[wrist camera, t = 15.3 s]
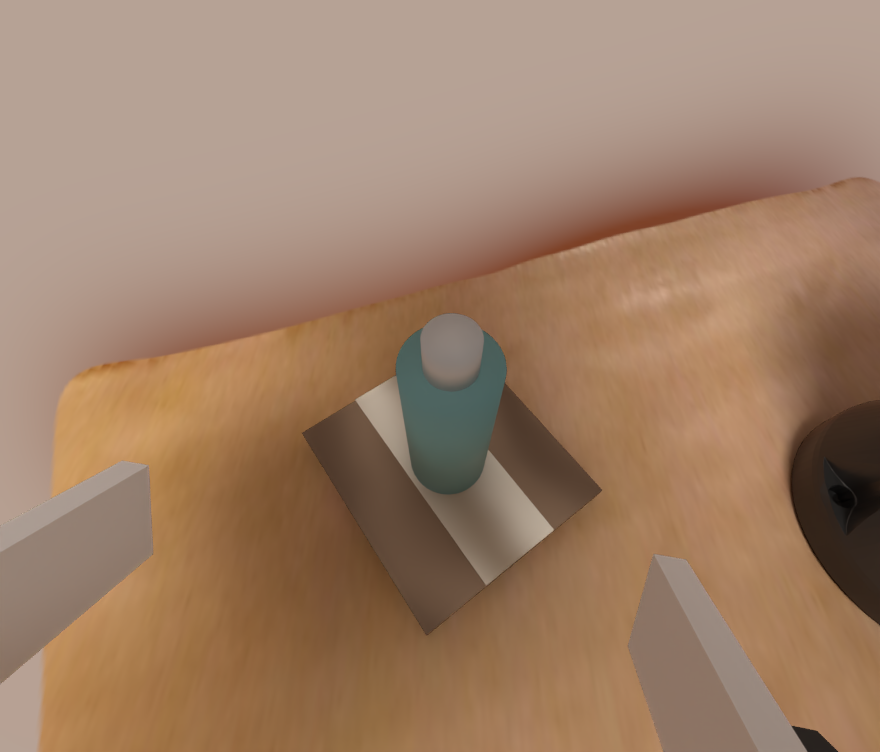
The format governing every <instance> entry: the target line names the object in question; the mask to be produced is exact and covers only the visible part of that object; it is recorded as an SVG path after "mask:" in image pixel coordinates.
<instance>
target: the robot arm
mask: <svg viewBox="0 0 880 752" xmlns="http://www.w3.org/2000/svg"><path fill="white" fill-rule="evenodd" d="M792 490H793V497H794V503H795V507H796V511H797V514H798V518H799V520H800V523H801V526H802V528H803V531H804V533H805V535H806V537H807V539H808V541H809V543H810V545H811V547H812V549H813V550H814V552H815V554H816V555H817V557H818V559H819V560H820V562H821V563H822V565H823V566H824V568H825V569H826V570H827V572H828V573H829V574H830V576H831V577H832V578H833V579H834V581H835V582H836V583H837V584H838V585H839V587H840V588H841V589H842V590H843V591H844V592H845V593H846V594H847V595H848V596H849V597H850V598H851V599H852V600H853V601H854V602H855V603H856V604H857V605H858V606H859V607H860V608H861V609H862V610H863V611H864V612H865V613H867V614H868V615H869V616H870V617H871V618H873V619H874V620H875V621H876V622H877V623H879V624H880V400H875V401H871V402H867V403H863V404H860V405H857V406H854V407H852V408H850V409H847V410H845V411H844V412H842V413H840V414H838V415H836V416H835V417H833V418H831V419H829V420H827V421H826V422H824V423H822V424H821V425H819V426H818V427H816V428H815V429H814V430H813V431H811V432H810V434H809V435H808V436H807V437H806V438H805V440H804V441H803V442H802V444H801V446H800V447H799V450H798V452H797V454H796V457H795V461H794V465H793V472H792ZM151 555H153V539H152V519H151V499H150V479H149V465H144V464H139V463H133V462H127V461H121V462H119V463H117V464H115V465H113V466H111V467H109V468H108V469H106V470H104V471H102V472H100V473H98V474H96V475H94V476H93V477H91V478H89V479H87V480H85V481H83V482H81V483H79V484H78V485H76V486H74V487H72V488H70V489H68V490H66V491H64V492H62V493H61V494H59V495H57V496H55V497H53V498H51V499H49V500H48V501H46V502H44V503H42V504H40V505H38V506H36V507H35V508H32V509H31V510H29V511H27V512H25V513H23V514H22V515H19V516H18V517H15V518H14V519H12V520H10V521H8V522H6V523H4V524H3V525H0V684H1V683H2V682H3V681H5V680H6V679H7V678H8V677H9V676H10V675H12V674H13V673H14V672H15V671H16V670H17V669H19V668H20V667H21V666H22V665H23V664H24V663H26V662H27V661H28V660H29V659H30V658H31V657H33V656H34V655H35V654H36V653H37V652H39V651H40V650H41V649H42V648H43V647H44V646H46V645H47V644H48V643H49V642H50V641H52V640H53V639H54V638H55V637H56V636H57V635H59V634H60V633H61V632H62V631H63V630H64V629H66V628H67V627H68V626H69V625H70V624H72V623H73V622H74V621H75V620H76V619H77V618H79V617H80V616H81V615H82V614H83V613H84V612H86V611H87V610H88V609H89V608H90V607H91V606H93V605H94V604H95V603H96V602H97V601H99V600H100V599H101V598H102V597H103V596H104V595H106V594H107V593H108V592H109V591H110V590H111V589H113V588H114V587H115V586H116V585H117V584H119V583H120V582H121V581H122V580H123V579H124V578H126V577H127V576H128V575H129V574H130V573H131V572H133V571H134V570H135V569H136V568H137V567H139V566H140V565H141V564H142V563H143V562H144V561H146V560H147V559H148V558H149V557H150V556H151ZM628 648H629V651H630V654H631V657H632V660H633V663H634V666H635V669H636V672H637V675H638V678H639V681H640V683H641V686H642V689H643V692H644V695H645V698H646V701H647V704H648V707H649V710H650V713H651V716H652V719H653V722H654V725H655V728H656V731H657V734H658V737H659V740H660V743H661V746H662V749H663V752H838V751H837V750H836V749H835V748H834V747H833V746H832V745H831V744H830V743H829V742H828V741H827V740H826V739H825V738H824V737H823V736H822V735H821V734H820V733H819V732H818V731H815V730H810V729H805V728H800V727H795V726H791V725H790V723H789V722H788V720H787V719H786V717H785V715H784V714H783V712H782V711H781V709H780V707H779V706H778V704H777V703H776V701H775V700H774V698H773V696H772V695H771V693H770V692H769V690H768V688H767V687H766V685H765V684H764V682H763V681H762V679H761V677H760V676H759V674H758V673H757V671H756V669H755V668H754V666H753V665H752V663H751V661H750V660H749V658H748V657H747V655H746V654H745V652H744V650H743V649H742V647H741V646H740V644H739V642H738V641H737V639H736V638H735V636H734V635H733V633H732V631H731V630H730V628H729V627H728V625H727V623H726V622H725V620H724V619H723V617H722V616H721V614H720V612H719V611H718V609H717V608H716V606H715V604H714V603H713V601H712V600H711V598H710V597H709V595H708V593H707V592H706V590H705V589H704V587H703V585H702V584H701V582H700V581H699V579H698V578H697V576H696V574H695V573H694V571H693V570H692V568H691V566H690V565H689V563H688V562H687V560H686V559H680V558H674V557H669V556H663V555H657V554H653V557H652V561H651V564H650V568H649V572H648V575H647V579H646V582H645V586H644V590H643V593H642V597H641V600H640V604H639V607H638V611H637V615H636V618H635V622H634V625H633V629H632V633H631V636H630V640H629V643H628Z"/></svg>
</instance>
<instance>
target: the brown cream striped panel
mask: <svg viewBox="0 0 880 752" xmlns="http://www.w3.org/2000/svg"><path fill="white" fill-rule="evenodd" d="M302 434H303V436H304V437H305V439H306V441H307V442H308V444H309V445H310V447H311V449H312V450H313V452H314V454H315V455H316V457H317V458H318V460H319V462H320V463H321V465H322V467H323V468H324V470H325V471H326V473H327V475H328V476H329V478H330V480H331V481H332V483H333V484H334V486H335V488H336V489H337V491H338V493H339V494H340V496H341V497H342V499H343V501H344V502H345V504H346V506H347V507H348V509H349V510H350V512H351V514H352V515H353V517H354V519H355V520H356V522H357V523H358V525H359V527H360V528H361V530H362V532H363V533H364V535H365V536H366V538H367V540H368V541H369V543H370V544H371V546H372V548H373V549H374V551H375V553H376V554H377V556H378V557H379V559H380V561H381V562H382V564H383V566H384V567H385V569H386V570H387V572H388V574H389V575H390V577H391V579H392V580H393V582H394V583H395V585H396V587H397V588H398V590H399V592H400V593H401V595H402V596H403V598H404V600H405V601H406V603H407V605H408V606H409V608H410V609H411V611H412V613H413V614H414V616H415V618H416V619H417V621H418V622H419V624H420V626H421V627H422V629H423V631H424V632H425V634H426V635H428V634H429V633H430V632H432V631H433V630H434V629H435V628H437V627H438V626H439V625H440V624H441V623H443V622H444V621H445V620H446V619H447V618H449V617H450V616H451V615H452V614H454V613H455V612H456V611H457V610H458V609H460V608H461V607H462V606H463V605H464V604H466V603H467V602H468V601H469V600H471V599H472V598H473V597H474V596H475V595H477V594H478V593H479V592H480V591H481V590H483V589H484V588H485V587H486V586H488V585H489V584H490V583H491V582H492V581H494V580H495V579H496V578H497V577H498V576H500V575H501V574H502V573H503V572H505V571H506V570H507V569H508V568H509V567H511V566H512V565H513V564H514V563H515V562H517V561H518V560H519V559H520V558H522V557H523V556H524V555H525V554H526V553H528V552H529V551H530V550H531V549H532V548H534V547H535V546H536V545H537V544H539V543H540V542H541V541H542V540H543V539H545V538H546V537H547V536H548V535H549V534H551V533H552V532H553V531H554V530H556V529H557V528H558V527H559V526H560V525H562V524H563V523H564V522H565V521H566V520H568V519H569V518H570V517H571V516H572V515H574V514H575V513H576V512H577V511H579V510H580V509H581V508H582V507H583V506H585V505H586V504H587V503H588V502H589V501H591V500H592V499H593V498H594V497H595V496H597V495H598V494H599V493H600V492H601V491H602V489H601V488H600V487H599V486H598V485H597V484H596V483H595V482H594V481H593V479H592V478H591V477H590V476H589V475H588V474H587V473H586V472H585V471H584V470H583V468H582V467H581V466H580V465H579V464H578V463H577V462H576V461H575V460H574V459H573V457H572V456H571V455H570V454H569V453H568V452H567V451H566V450H565V449H564V448H563V446H562V445H561V444H560V443H559V442H558V441H557V440H556V439H555V438H554V437H553V436H552V434H551V433H550V432H549V431H548V430H547V429H546V428H545V427H544V426H543V425H542V423H541V422H540V421H539V420H538V419H537V418H536V417H535V416H534V415H533V414H532V412H531V411H530V410H529V409H528V408H527V407H526V406H525V405H524V404H523V403H522V401H521V400H520V399H519V398H518V397H517V396H516V395H515V394H514V393H513V392H512V390H511V389H510V388H509V387H508V386H507V385H506V384H505V383H504V387H503V391H502V395H501V399H500V403H499V407H498V412H497V416H496V420H495V424H494V428H493V432H492V436H491V440H490V444H489V448H488V452H487V456H486V460H485V464H484V468H483V471H482V474H481V476H480V477H479V479H478V480H477V481H476V483H475V484H474V485H472V486H471V487H470V488H468V489H467V490H465V491H463V492H460V493H457V494H440V493H436V492H433V491H431V490H429V489H427V488H426V487H425V486H423V485H422V484H421V483H420V482H419V480H418V479H417V478H416V476H415V474H414V472H413V469H412V466H411V460H410V454H409V448H408V442H407V436H406V430H405V424H404V418H403V412H402V406H401V400H400V394H399V389H398V383H397V377H396V375H395V376H393V377H392V378H390V379H388V380H387V381H385V382H384V383H382V384H380V385H379V386H377V387H375V388H374V389H372V390H370V391H369V392H367V393H365V394H364V395H362V396H360V397H359V398H357V399H355V401H354V402H352V403H351V404H349V405H347V406H346V407H344V408H343V409H341V410H339V411H338V412H336V413H334V414H333V415H331V416H329V417H328V418H326V419H324V420H323V421H321V422H319V423H318V424H316V425H314V426H313V427H311V428H309V429H308V430H306V431H305V432H303V433H302Z"/></svg>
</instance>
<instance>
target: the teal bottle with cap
mask: <svg viewBox="0 0 880 752" xmlns="http://www.w3.org/2000/svg"><path fill="white" fill-rule="evenodd" d="M506 372H507V367H506V360H505V357H504V354H503V352H502V350H501V348H500V346H499V345H498V343H497V342H496V341H495V340H494V339H493V338H492V337H491V336H490V335H489V334H487V333H486V332H485V331H483V330H481V328H480V326H479V325H478V324H477V323H476V322H475V321H474V320H472V319H471V318H469V317H467V316H465V315H461V314H456V313H448V314H442V315H439V316H436V317H434V318H433V319H431V320H430V321H429V322H428V323H427V324H426V325H425V326H424V328H422V329H420V330H418V331H417V332H415V333H414V334H413V335H412V336H410V337H409V338H408V339H407V341H406V342H405V343H404V344H403V346H402V347H401V349H400V351H399V354H398V357H397V361H396V377H397V383H398V389H399V394H400V400H401V406H402V412H403V418H404V424H405V430H406V436H407V442H408V448H409V454H410V460H411V466H412V469H413V472H414V474H415V476H416V478H417V479H418V480H419V482H420V483H421V484H422V485H423V486H425V487H426V488H427V489H429V490H431V491H433V492H436V493H440V494H457V493H460V492H463V491H465V490H467V489H468V488H470V487H471V486H472V485H474V484H475V483H476V481H477V480H478V479H479V477H480V476H481V474H482V471H483V468H484V464H485V460H486V456H487V452H488V448H489V444H490V440H491V436H492V432H493V428H494V424H495V420H496V416H497V412H498V407H499V403H500V399H501V395H502V391H503V387H504V383H505V379H506Z"/></svg>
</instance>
